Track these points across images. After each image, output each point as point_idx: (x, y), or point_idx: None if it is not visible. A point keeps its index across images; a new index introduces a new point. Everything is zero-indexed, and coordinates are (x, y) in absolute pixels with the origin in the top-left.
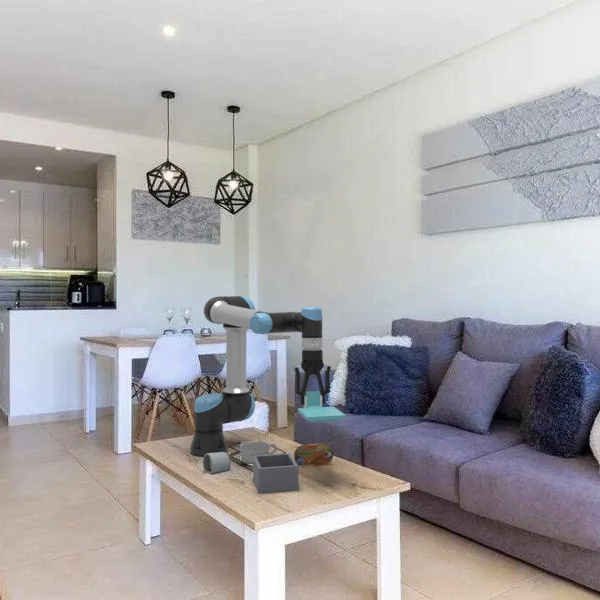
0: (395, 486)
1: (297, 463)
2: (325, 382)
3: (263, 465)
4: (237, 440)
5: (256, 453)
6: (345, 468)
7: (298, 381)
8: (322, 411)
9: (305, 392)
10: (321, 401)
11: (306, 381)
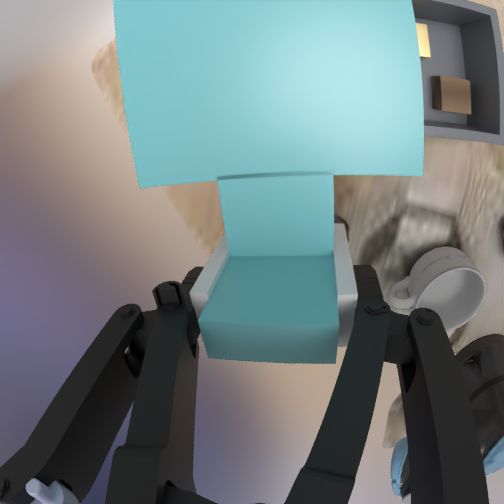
0: (109, 45)
1: (339, 218)
2: (118, 397)
3: (467, 127)
4: (403, 412)
5: (455, 258)
6: (202, 188)
7: (452, 418)
8: (240, 11)
9: (335, 354)
10: (210, 265)
11: (343, 424)
